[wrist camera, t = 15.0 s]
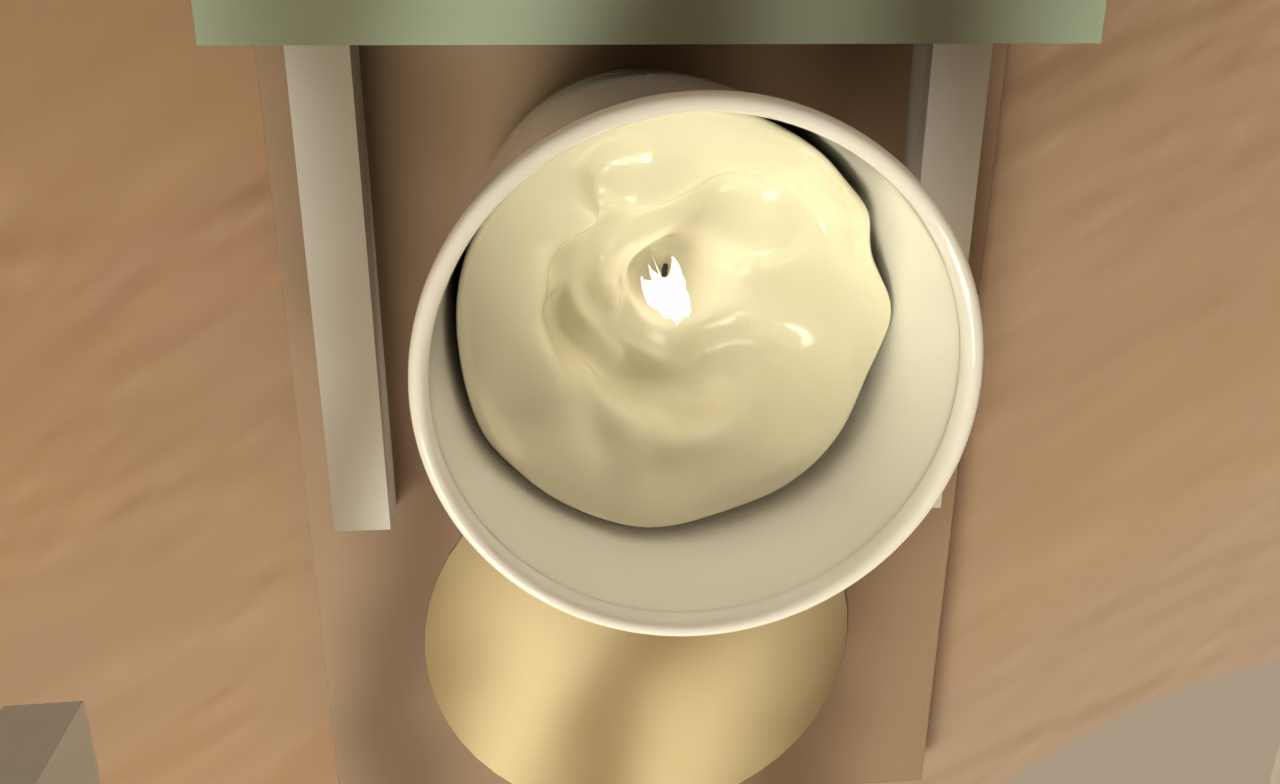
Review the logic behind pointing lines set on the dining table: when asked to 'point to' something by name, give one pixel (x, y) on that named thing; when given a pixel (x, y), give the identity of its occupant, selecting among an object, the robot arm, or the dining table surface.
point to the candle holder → (692, 356)
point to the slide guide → (379, 402)
